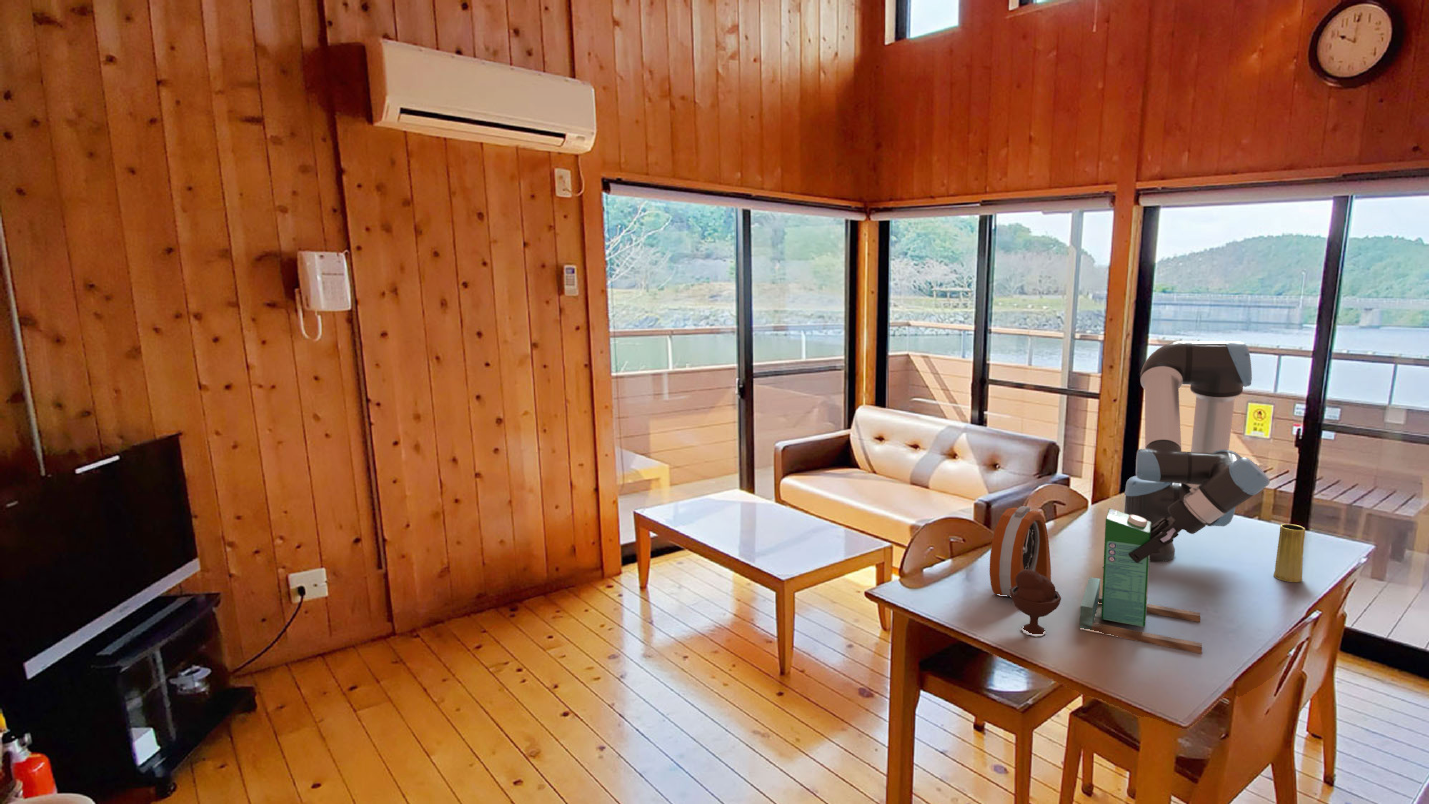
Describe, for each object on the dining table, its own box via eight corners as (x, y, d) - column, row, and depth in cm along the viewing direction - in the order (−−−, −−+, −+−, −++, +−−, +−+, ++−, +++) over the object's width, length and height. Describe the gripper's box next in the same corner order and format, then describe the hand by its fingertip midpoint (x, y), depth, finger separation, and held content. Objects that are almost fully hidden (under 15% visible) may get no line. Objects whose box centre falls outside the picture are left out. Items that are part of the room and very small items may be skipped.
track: (1199, 618, 176) (1201, 595, 175) (1201, 653, 161) (1203, 627, 160) (1087, 599, 189) (1088, 577, 188) (1079, 629, 173) (1080, 605, 172)
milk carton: (1145, 627, 170) (1150, 523, 166) (1101, 619, 175) (1105, 518, 171) (1146, 612, 178) (1152, 512, 174) (1104, 604, 183) (1108, 507, 179)
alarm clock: (1026, 609, 185) (1029, 522, 181) (987, 599, 191) (989, 515, 188) (1056, 581, 201) (1059, 501, 197) (1019, 573, 207) (1022, 495, 204)
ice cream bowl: (1035, 646, 166) (1037, 583, 164) (998, 626, 176) (1000, 566, 174) (1069, 636, 170) (1072, 574, 168) (1031, 617, 180) (1033, 558, 178)
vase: (1307, 583, 194) (1312, 531, 191) (1280, 582, 195) (1285, 530, 193) (1294, 574, 200) (1299, 523, 197) (1268, 573, 201) (1273, 522, 199)
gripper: (1181, 488, 173) (1099, 544, 185) (1181, 508, 159) (1092, 568, 171) (1206, 513, 171) (1122, 568, 183) (1209, 535, 157) (1117, 594, 169)
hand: (1108, 568), depth 177 cm, fingers open, 4 cm apart
